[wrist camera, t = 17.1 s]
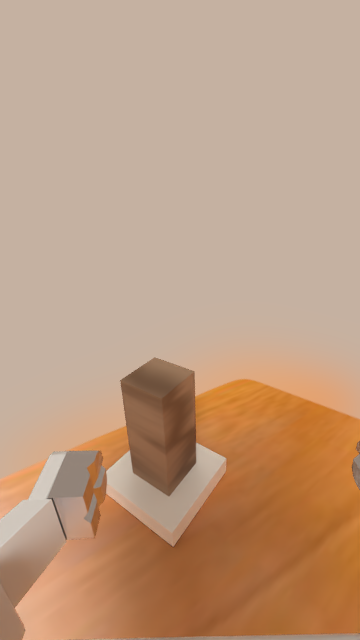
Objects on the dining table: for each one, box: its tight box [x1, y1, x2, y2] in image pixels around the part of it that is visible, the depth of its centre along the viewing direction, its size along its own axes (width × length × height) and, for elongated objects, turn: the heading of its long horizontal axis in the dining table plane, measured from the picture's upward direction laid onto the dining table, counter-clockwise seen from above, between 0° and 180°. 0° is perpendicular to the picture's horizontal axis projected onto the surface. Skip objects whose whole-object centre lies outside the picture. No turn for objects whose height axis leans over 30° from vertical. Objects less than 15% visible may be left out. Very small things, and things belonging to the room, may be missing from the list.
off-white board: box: [106, 443, 227, 547], centre depth 34 cm, size 10×10×2 cm
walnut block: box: [120, 358, 196, 496], centre depth 31 cm, size 5×5×12 cm
